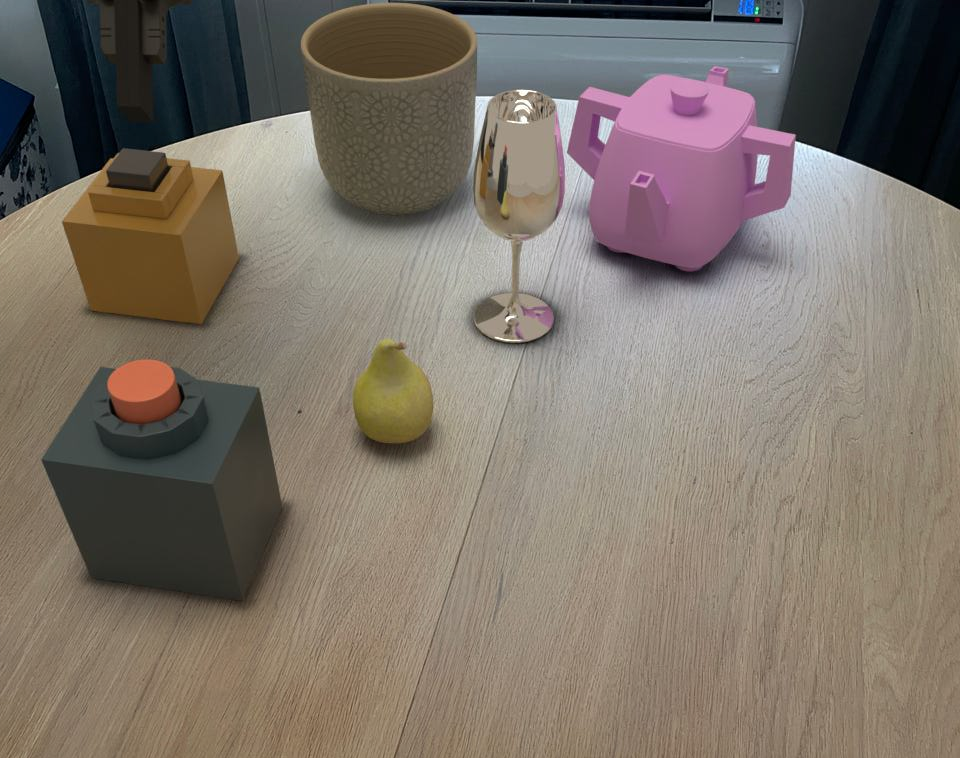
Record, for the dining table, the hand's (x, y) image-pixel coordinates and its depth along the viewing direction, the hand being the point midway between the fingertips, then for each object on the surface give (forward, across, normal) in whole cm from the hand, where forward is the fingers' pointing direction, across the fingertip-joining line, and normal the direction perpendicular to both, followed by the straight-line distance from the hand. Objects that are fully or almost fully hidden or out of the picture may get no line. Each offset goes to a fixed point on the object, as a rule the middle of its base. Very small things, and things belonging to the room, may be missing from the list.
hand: (135, 114), depth 69 cm
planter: (-8, -13, -47) cm, 50 cm away
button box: (+28, 0, -11) cm, 30 cm away
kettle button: (-4, +8, -27) cm, 29 cm away
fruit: (+19, -15, -20) cm, 32 cm away
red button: (+18, 0, -1) cm, 18 cm away
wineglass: (+8, -25, -32) cm, 41 cm away
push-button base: (+4, +8, -35) cm, 36 cm away
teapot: (-3, -41, -42) cm, 59 cm away
